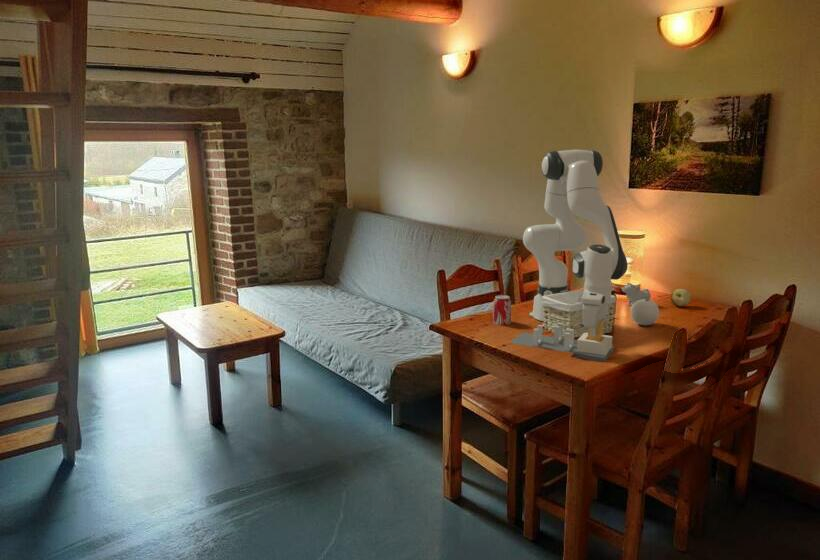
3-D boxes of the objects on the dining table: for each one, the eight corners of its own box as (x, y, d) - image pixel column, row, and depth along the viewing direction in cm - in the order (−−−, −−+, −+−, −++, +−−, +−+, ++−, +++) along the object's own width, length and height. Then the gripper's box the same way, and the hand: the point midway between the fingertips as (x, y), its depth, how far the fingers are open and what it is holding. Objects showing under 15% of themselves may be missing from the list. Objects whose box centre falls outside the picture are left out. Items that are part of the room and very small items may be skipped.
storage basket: (567, 344, 216) (569, 304, 213) (538, 332, 231) (539, 295, 227) (616, 333, 227) (618, 295, 224) (585, 323, 241) (587, 287, 238)
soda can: (501, 329, 234) (502, 299, 232) (489, 325, 240) (489, 296, 237) (514, 326, 238) (515, 296, 236) (501, 322, 244) (502, 293, 241)
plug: (580, 339, 210) (581, 317, 208) (602, 342, 206) (603, 320, 204) (577, 342, 206) (578, 320, 204) (599, 346, 203) (600, 323, 201)
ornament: (660, 329, 232) (662, 299, 229) (632, 327, 234) (634, 298, 231) (655, 321, 242) (657, 292, 239) (628, 320, 244) (630, 291, 241)
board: (522, 336, 226) (523, 317, 224) (613, 349, 209) (614, 328, 208) (509, 347, 214) (509, 326, 212) (604, 362, 198) (605, 340, 196)
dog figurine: (618, 305, 267) (619, 281, 265) (646, 304, 269) (647, 280, 266) (623, 308, 262) (625, 284, 260) (651, 307, 263) (653, 283, 261)
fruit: (666, 305, 265) (667, 288, 264) (679, 303, 269) (681, 286, 267) (680, 309, 259) (681, 291, 257) (694, 307, 262) (695, 289, 260)
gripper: (595, 286, 212) (593, 324, 215) (579, 299, 195) (577, 340, 198) (613, 288, 209) (611, 326, 212) (599, 301, 191) (597, 343, 194)
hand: (595, 333), depth 204 cm, fingers closed on plug, 4 cm apart
